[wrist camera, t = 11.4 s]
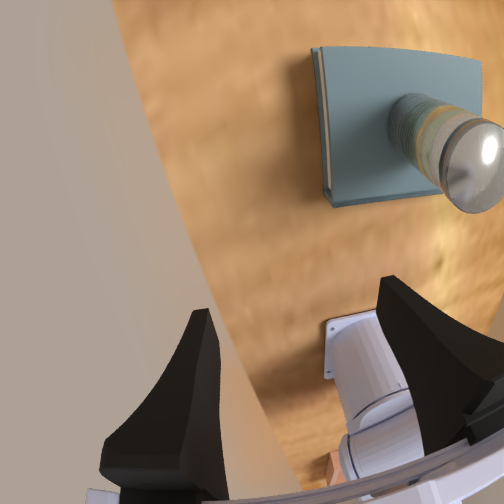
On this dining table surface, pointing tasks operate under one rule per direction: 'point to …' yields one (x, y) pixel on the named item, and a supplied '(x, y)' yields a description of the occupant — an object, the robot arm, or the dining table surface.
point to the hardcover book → (380, 116)
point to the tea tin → (450, 149)
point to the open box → (334, 470)
